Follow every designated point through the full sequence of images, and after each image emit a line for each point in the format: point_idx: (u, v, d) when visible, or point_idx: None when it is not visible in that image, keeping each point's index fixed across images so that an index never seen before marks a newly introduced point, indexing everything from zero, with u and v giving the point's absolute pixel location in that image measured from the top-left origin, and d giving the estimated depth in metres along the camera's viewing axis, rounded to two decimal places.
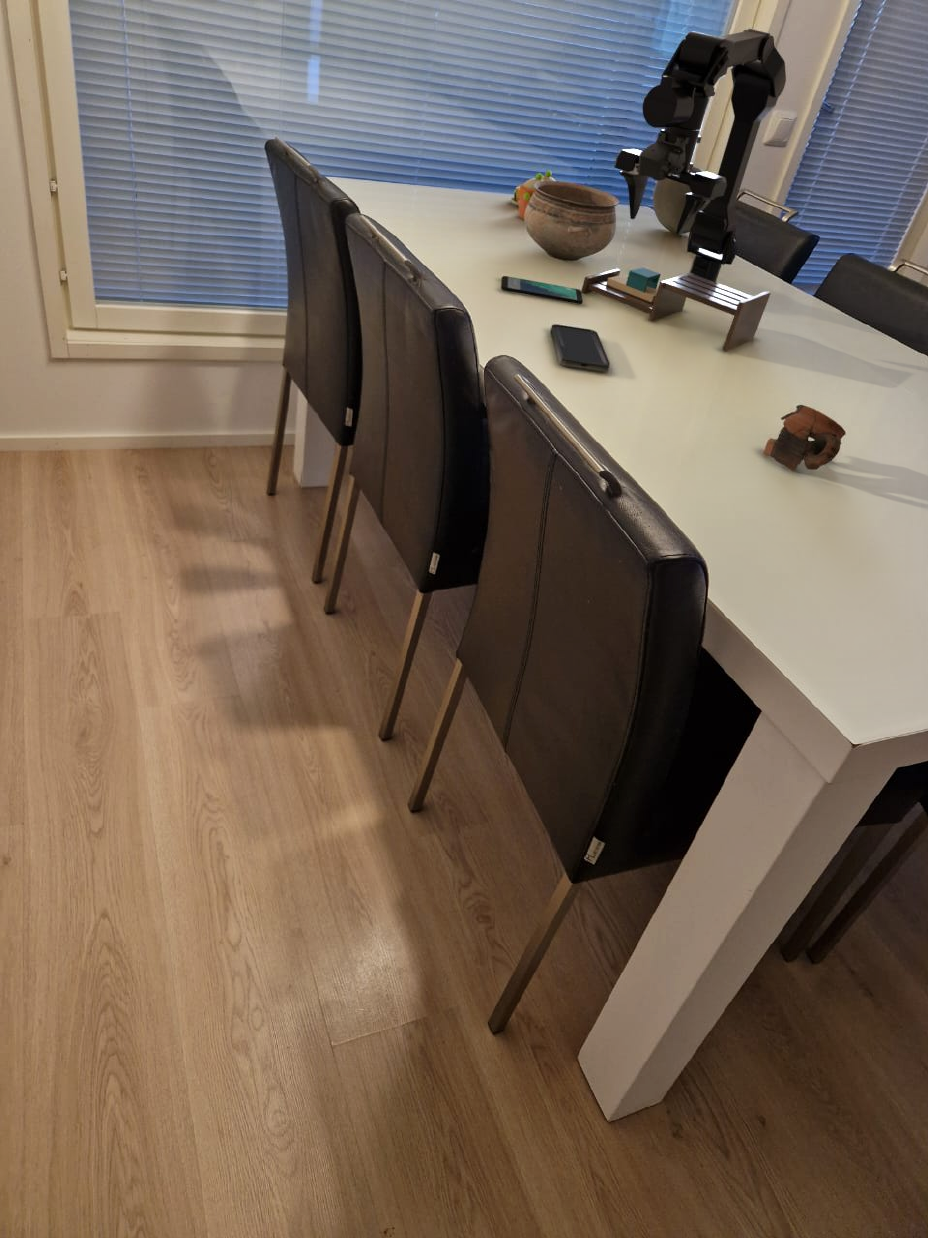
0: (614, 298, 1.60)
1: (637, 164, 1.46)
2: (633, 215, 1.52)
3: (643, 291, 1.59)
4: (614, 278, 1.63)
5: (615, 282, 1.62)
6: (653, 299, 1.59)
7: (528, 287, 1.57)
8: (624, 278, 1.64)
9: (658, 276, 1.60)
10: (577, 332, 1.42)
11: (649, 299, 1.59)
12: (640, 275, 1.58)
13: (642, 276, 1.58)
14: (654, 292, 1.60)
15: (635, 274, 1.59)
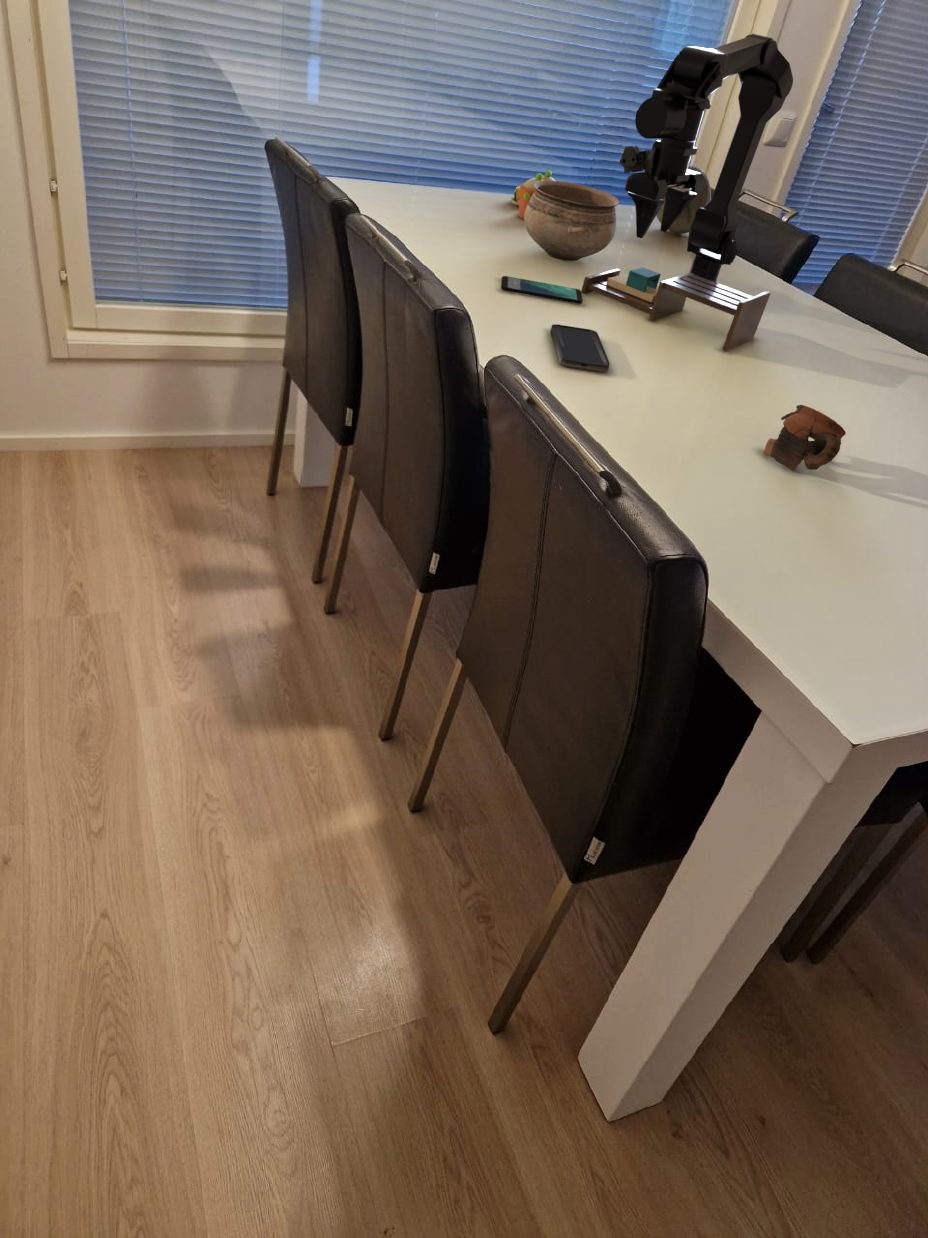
0: (614, 298, 1.60)
1: None
2: (662, 227, 1.58)
3: (643, 291, 1.59)
4: (614, 278, 1.63)
5: (615, 282, 1.62)
6: (653, 299, 1.59)
7: (528, 287, 1.57)
8: (624, 278, 1.64)
9: (658, 276, 1.60)
10: (577, 332, 1.42)
11: (649, 299, 1.59)
12: (640, 275, 1.58)
13: (642, 276, 1.58)
14: (654, 292, 1.60)
15: (635, 274, 1.59)
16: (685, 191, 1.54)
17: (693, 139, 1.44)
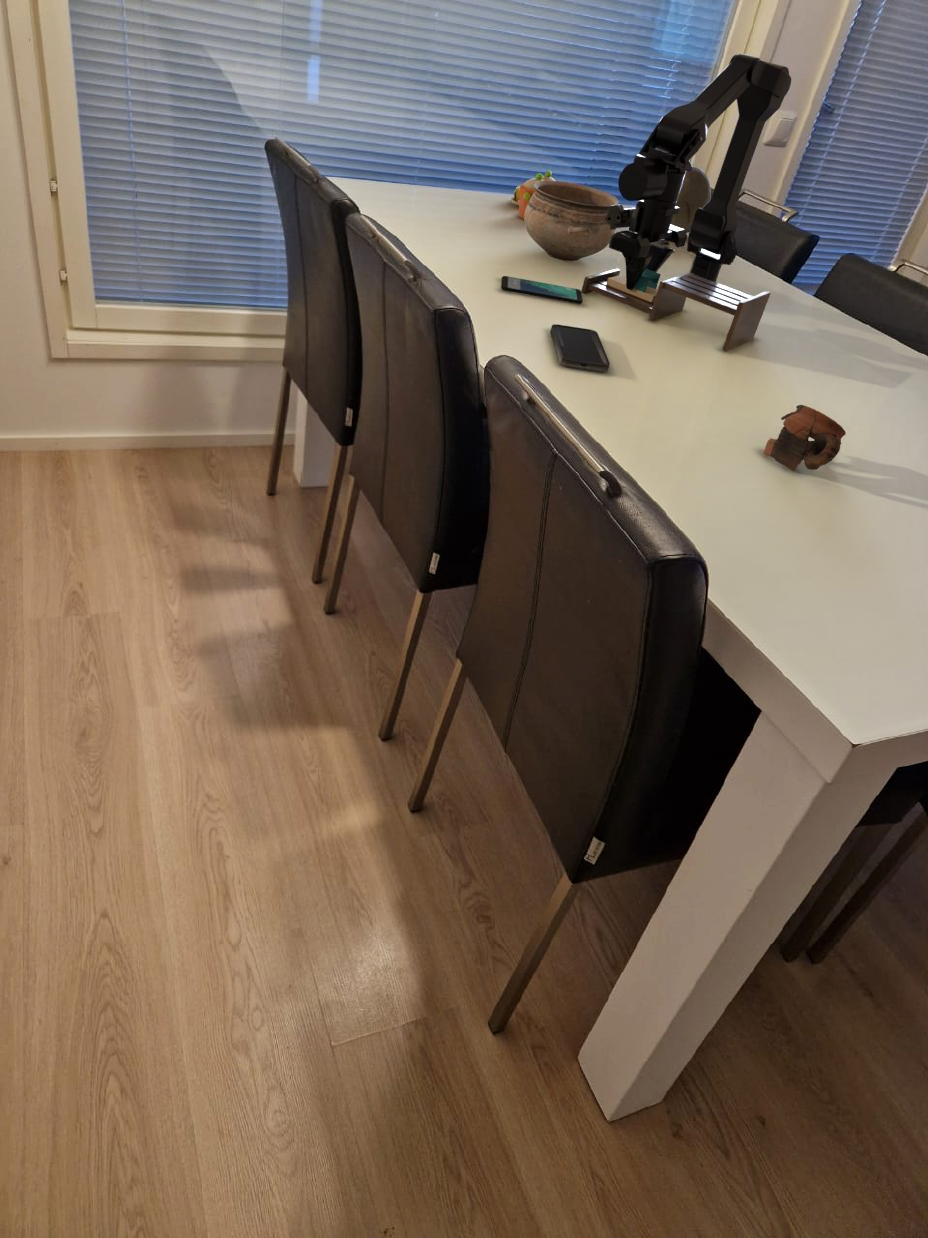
0: (614, 298, 1.60)
1: None
2: None
3: (643, 291, 1.59)
4: (614, 278, 1.63)
5: (615, 282, 1.62)
6: (653, 299, 1.59)
7: (528, 287, 1.57)
8: (624, 278, 1.64)
9: (658, 276, 1.60)
10: (577, 332, 1.42)
11: (649, 299, 1.59)
12: None
13: (642, 276, 1.58)
14: (654, 292, 1.60)
15: None
16: (663, 247, 1.59)
17: (675, 200, 1.51)
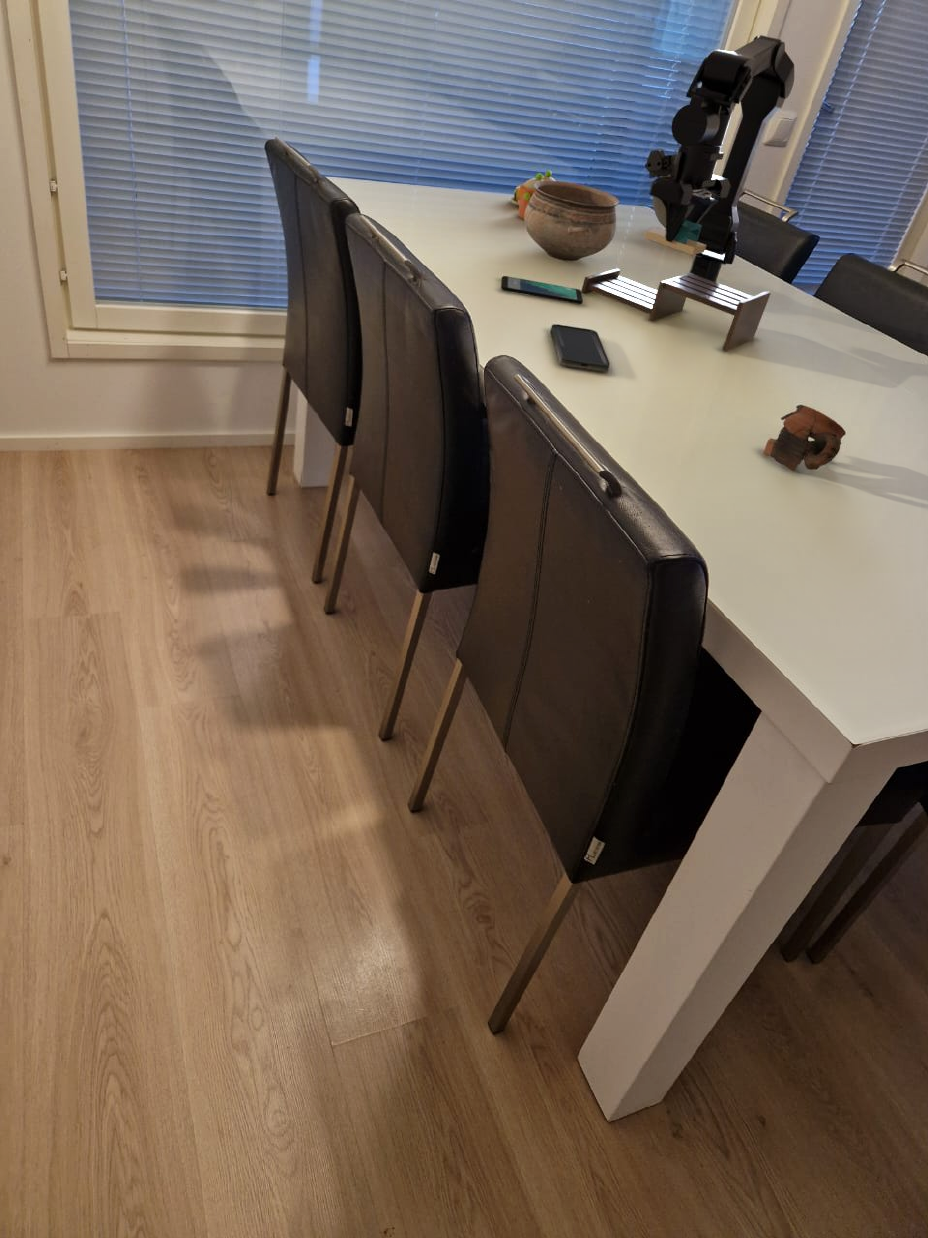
0: (614, 298, 1.60)
1: None
2: None
3: (683, 243, 1.51)
4: (652, 230, 1.55)
5: (653, 234, 1.53)
6: (694, 251, 1.51)
7: (528, 287, 1.57)
8: (663, 231, 1.56)
9: (699, 228, 1.52)
10: (577, 332, 1.42)
11: (690, 251, 1.51)
12: None
13: (683, 227, 1.50)
14: (695, 244, 1.52)
15: None
16: (705, 197, 1.51)
17: (721, 144, 1.43)
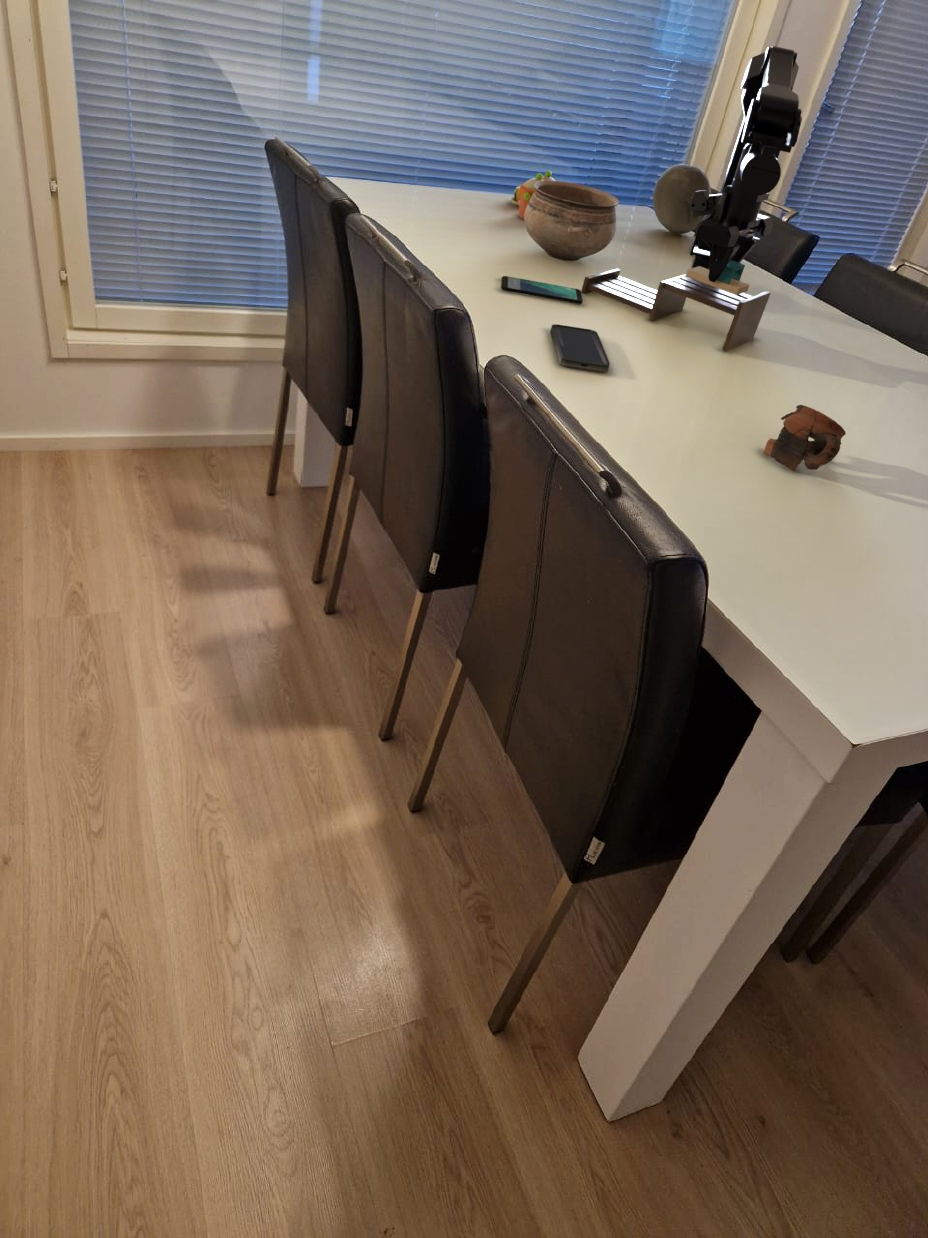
0: (614, 298, 1.60)
1: None
2: None
3: (727, 283, 1.49)
4: (694, 269, 1.53)
5: (696, 274, 1.52)
6: (738, 292, 1.49)
7: (528, 287, 1.57)
8: (704, 269, 1.54)
9: (742, 267, 1.50)
10: (577, 332, 1.42)
11: (734, 292, 1.49)
12: None
13: (727, 267, 1.48)
14: (739, 284, 1.50)
15: None
16: (749, 237, 1.49)
17: None
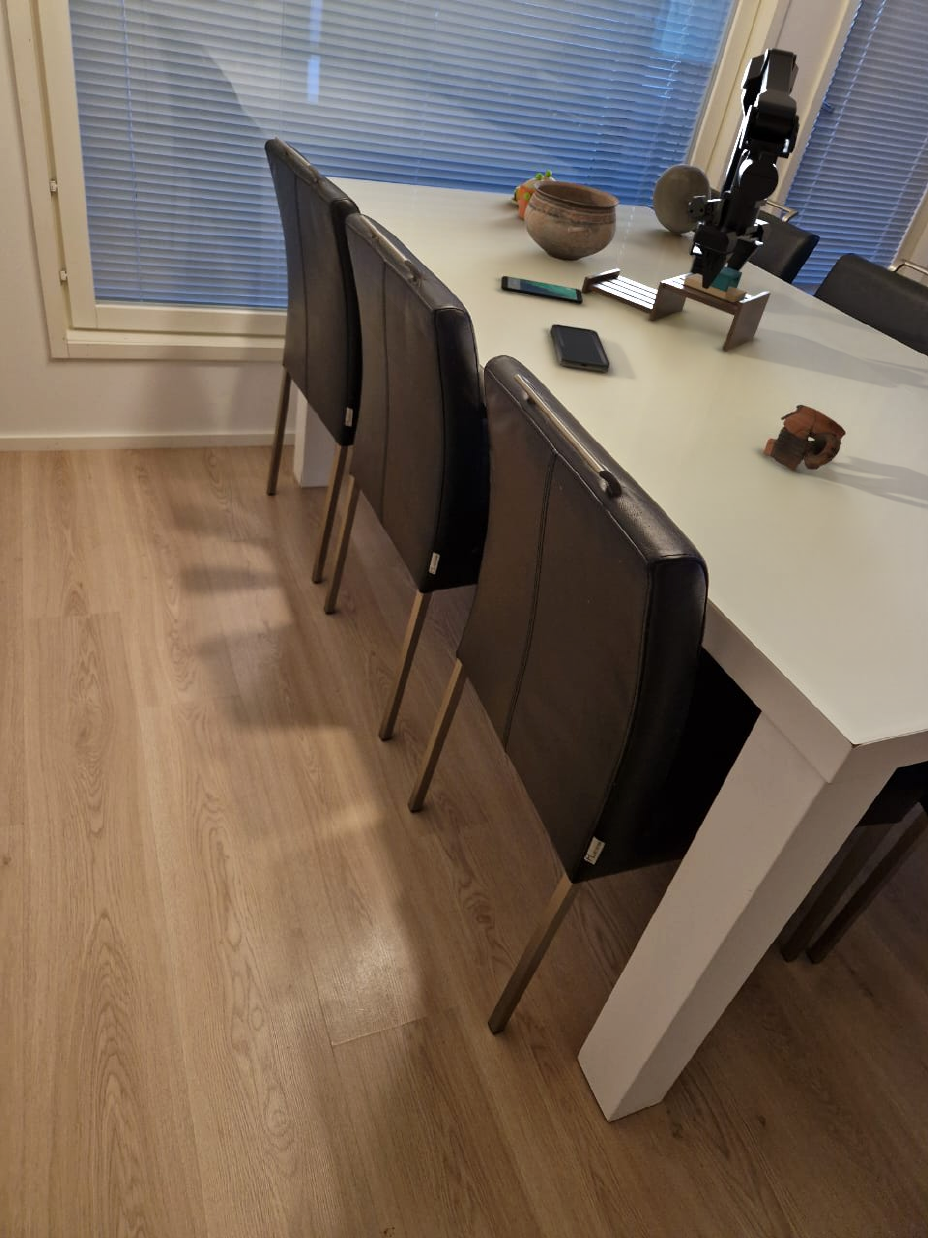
0: (614, 298, 1.60)
1: None
2: None
3: (725, 291, 1.50)
4: (692, 277, 1.54)
5: (693, 281, 1.52)
6: (735, 299, 1.50)
7: (528, 287, 1.57)
8: None
9: (740, 275, 1.51)
10: (577, 332, 1.42)
11: (731, 299, 1.50)
12: (722, 274, 1.49)
13: (724, 275, 1.49)
14: (736, 292, 1.51)
15: None
16: (751, 241, 1.51)
17: None
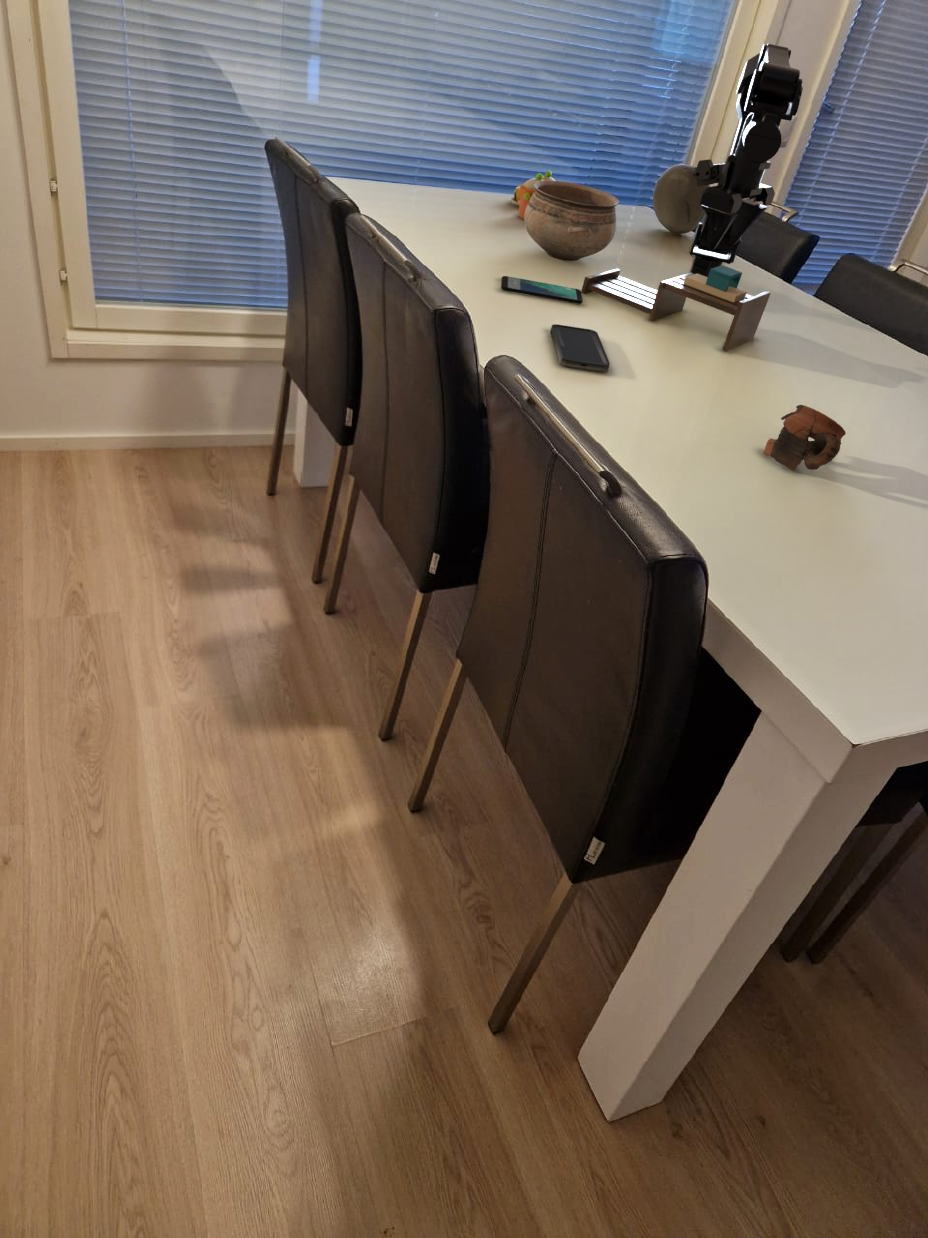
0: (614, 298, 1.60)
1: None
2: (731, 239, 1.60)
3: (725, 291, 1.50)
4: (692, 277, 1.54)
5: (693, 281, 1.52)
6: (735, 299, 1.50)
7: (528, 287, 1.57)
8: (702, 277, 1.55)
9: (740, 275, 1.51)
10: (577, 332, 1.42)
11: (731, 299, 1.50)
12: (722, 274, 1.49)
13: (724, 275, 1.49)
14: (736, 292, 1.51)
15: (717, 272, 1.49)
16: (756, 204, 1.56)
17: None
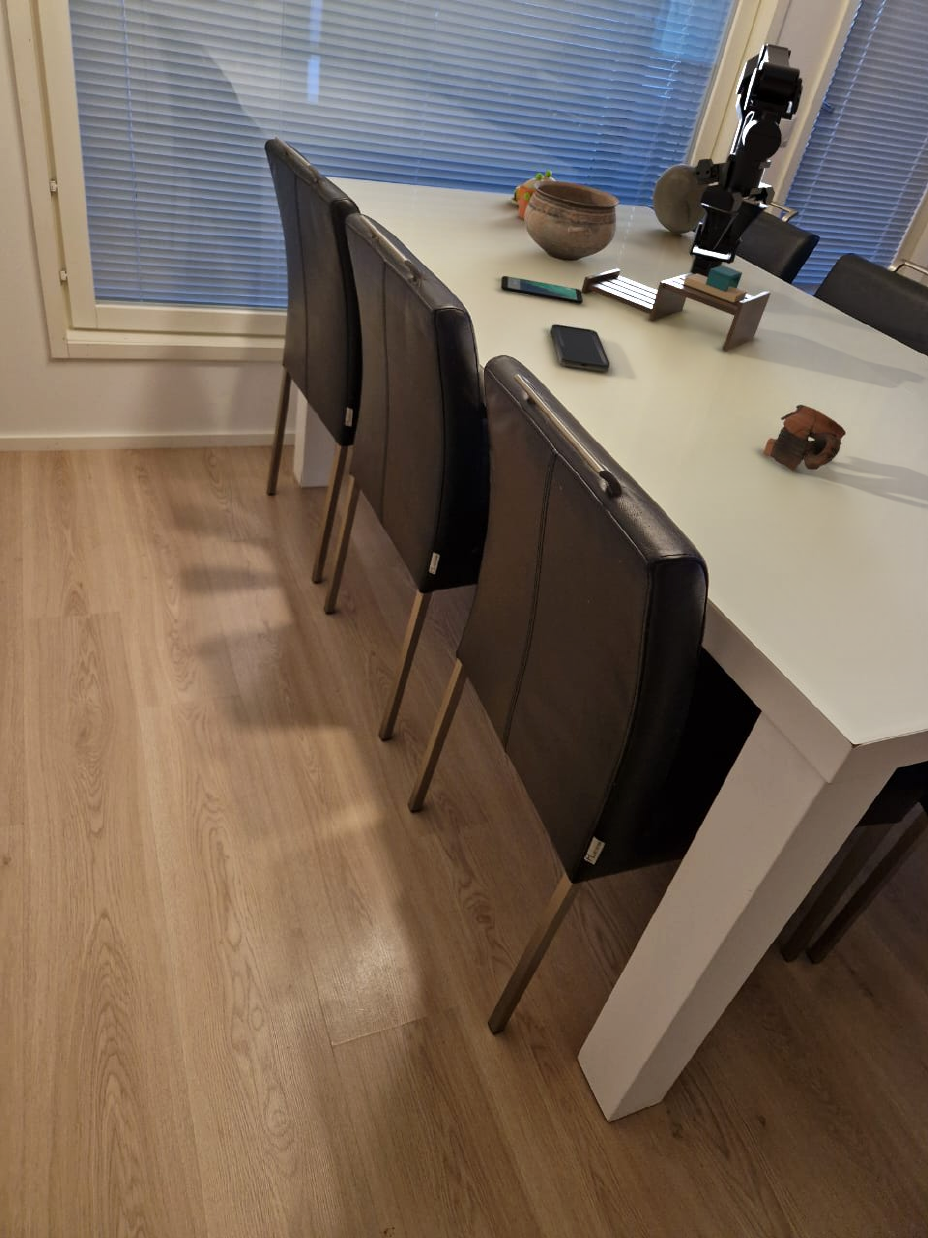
0: (614, 298, 1.60)
1: None
2: (731, 239, 1.60)
3: (725, 291, 1.50)
4: (692, 277, 1.54)
5: (693, 281, 1.52)
6: (735, 299, 1.50)
7: (528, 287, 1.57)
8: (702, 277, 1.55)
9: (740, 275, 1.51)
10: (577, 332, 1.42)
11: (731, 299, 1.50)
12: (722, 274, 1.49)
13: (724, 275, 1.49)
14: (736, 292, 1.51)
15: (717, 272, 1.49)
16: (756, 203, 1.56)
17: None
